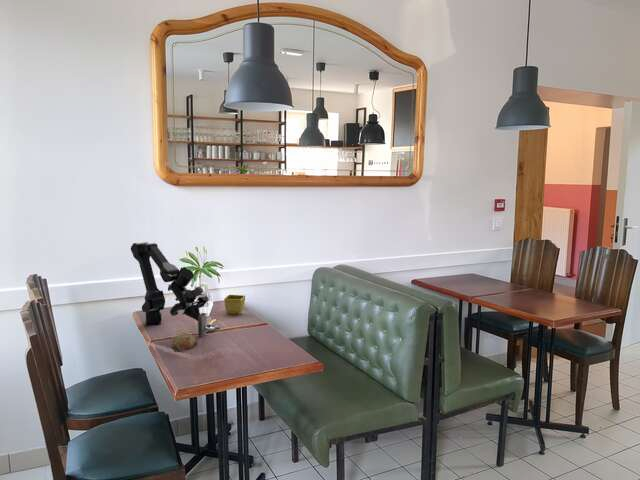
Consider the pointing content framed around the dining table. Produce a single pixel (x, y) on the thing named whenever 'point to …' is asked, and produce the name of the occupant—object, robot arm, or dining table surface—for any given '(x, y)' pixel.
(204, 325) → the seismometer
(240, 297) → the flower pot
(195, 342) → the mottled green brown ball
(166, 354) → the dining table surface
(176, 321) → the dining table surface
